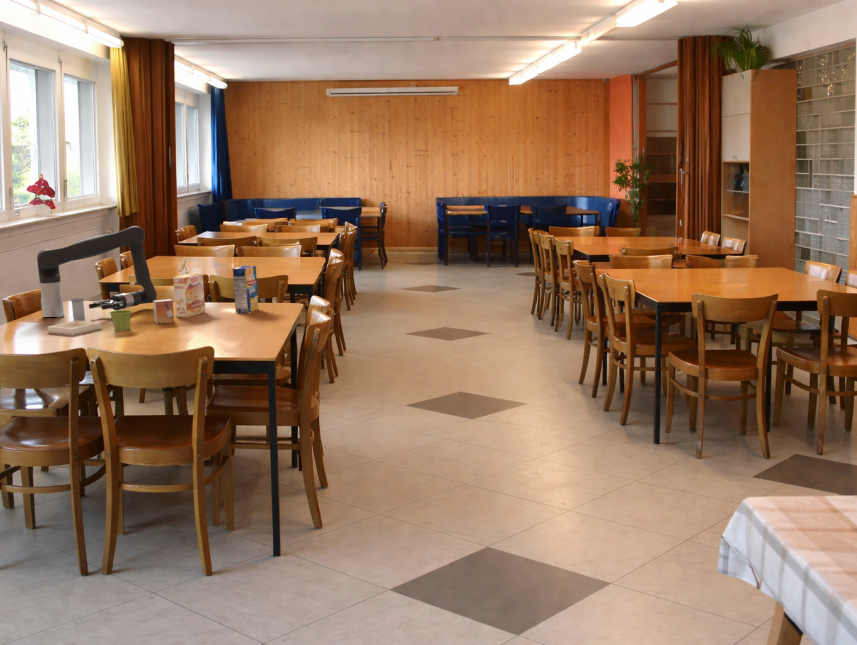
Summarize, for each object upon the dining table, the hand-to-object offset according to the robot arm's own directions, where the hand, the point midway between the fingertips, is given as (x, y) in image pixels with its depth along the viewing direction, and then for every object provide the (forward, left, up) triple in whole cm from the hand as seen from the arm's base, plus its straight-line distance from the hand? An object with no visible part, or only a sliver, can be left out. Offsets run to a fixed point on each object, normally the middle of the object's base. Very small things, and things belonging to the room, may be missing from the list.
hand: (95, 307), depth 385 cm
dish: (+13, -24, -6) cm, 28 cm away
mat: (+13, -24, -7) cm, 28 cm away
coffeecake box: (+33, +28, -7) cm, 44 cm away
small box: (+35, +8, -7) cm, 36 cm away
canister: (0, -10, -7) cm, 12 cm away
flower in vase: (+14, +49, -7) cm, 51 cm away
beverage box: (+54, +45, -7) cm, 70 cm away
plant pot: (+31, -14, -7) cm, 35 cm away
